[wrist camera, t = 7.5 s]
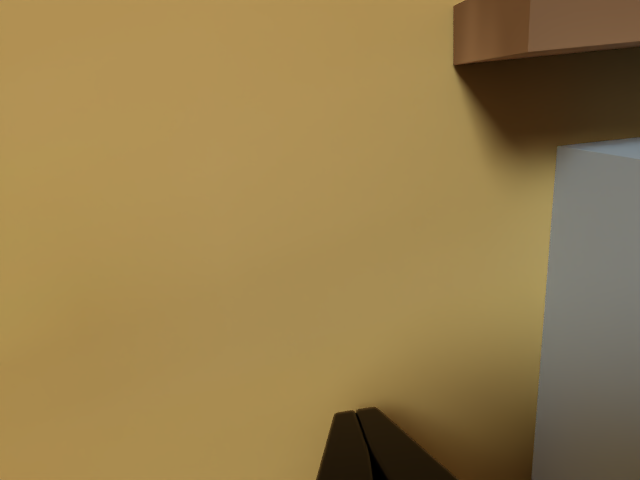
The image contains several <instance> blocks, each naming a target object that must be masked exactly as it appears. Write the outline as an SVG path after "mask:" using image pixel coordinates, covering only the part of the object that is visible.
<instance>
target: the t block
mask: <svg viewBox="0 0 640 480" xmlns="http://www.w3.org/2000/svg"><path fill="white" fill-rule="evenodd" d="M531 480H640V137H635V138H626V139H616V140H607V141H598V142H589V143H580V144H571V145H562V146H557V157H556V170H555V183H554V196H553V208H552V221H551V234H550V247H549V260H548V272H547V285H546V298H545V311H544V324H543V336H542V349H541V362H540V375H539V388H538V400H537V413H536V426H535V439H534V451H533V464H532V477H531Z"/></svg>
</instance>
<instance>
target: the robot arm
mask: <svg viewBox="0 0 640 480" xmlns="http://www.w3.org/2000/svg"><path fill="white" fill-rule="evenodd" d="M316 480H458V479H457V478H456V477H455V476H454V475H453V474H452V473H450V472H449V471H448V470H447V469H446V468H445V467H444V466H442V465H441V464H440V463H439V462H438V461H437V460H436V459H435V458H433V457H432V456H431V455H430V454H429V453H428V452H427V451H425V450H424V449H423V448H422V447H421V446H420V445H419V444H417V443H416V442H415V441H414V440H413V439H412V438H411V437H410V436H408V435H407V434H406V433H405V432H404V431H403V430H402V429H400V428H399V427H398V426H397V425H396V424H395V423H394V422H392V421H391V420H390V419H389V418H388V417H387V416H386V415H385V414H383V413H382V412H381V411H380V410H379V409H378V408H376V407H369V408H363V409H358V410H357V411H356V413H355V412H354V411H353V410H350V411H344V412H338V413H336V414H335V415H334V417H333V420H332V424H331V428H330V431H329V435H328V439H327V442H326V446H325V449H324V453H323V457H322V460H321V464H320V467H319V471H318V475H317V478H316Z"/></svg>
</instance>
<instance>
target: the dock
mask: <svg viewBox="0 0 640 480" xmlns="http://www.w3.org/2000/svg"><path fill="white" fill-rule="evenodd" d="M632 47H640V0H465V1H463V2H461V3H459V4H457V5H455V6H454V65H459V64H469V63H479V62H490V61H500V60H510V59H520V58H530V57H540V56H550V55H561V54H571V53H581V52H591V51H601V50H611V49H621V48H632Z"/></svg>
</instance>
